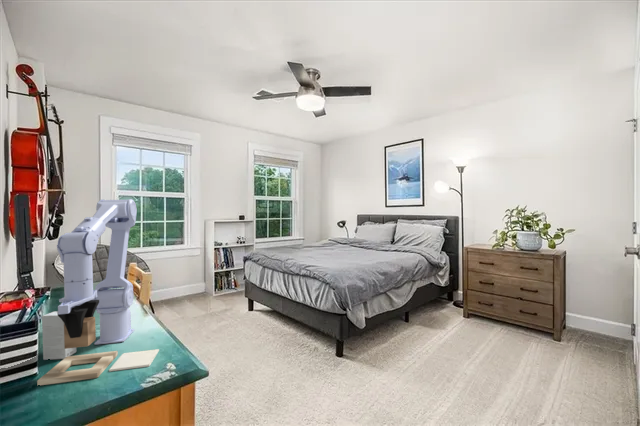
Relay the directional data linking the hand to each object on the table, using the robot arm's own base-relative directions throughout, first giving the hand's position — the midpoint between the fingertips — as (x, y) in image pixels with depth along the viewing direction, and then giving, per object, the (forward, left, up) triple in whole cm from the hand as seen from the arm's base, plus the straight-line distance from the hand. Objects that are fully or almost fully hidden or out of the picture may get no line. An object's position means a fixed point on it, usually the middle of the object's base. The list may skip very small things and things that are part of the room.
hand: (80, 333), depth 77 cm
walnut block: (0, 0, -3) cm, 3 cm away
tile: (-1, +12, -9) cm, 15 cm away
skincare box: (-10, -10, -9) cm, 17 cm away
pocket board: (0, 0, -9) cm, 9 cm away
